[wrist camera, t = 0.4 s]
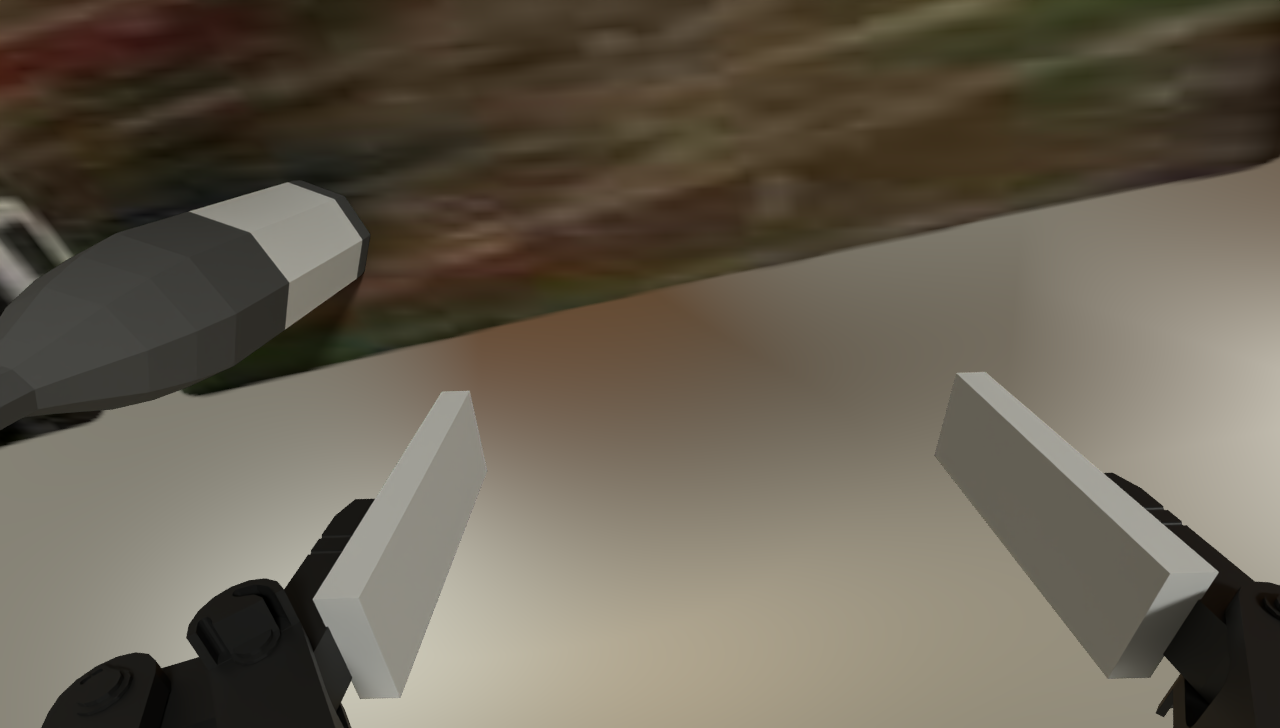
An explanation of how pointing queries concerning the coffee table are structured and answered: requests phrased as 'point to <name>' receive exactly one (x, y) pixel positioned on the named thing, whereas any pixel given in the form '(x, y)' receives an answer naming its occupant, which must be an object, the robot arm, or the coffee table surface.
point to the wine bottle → (175, 300)
